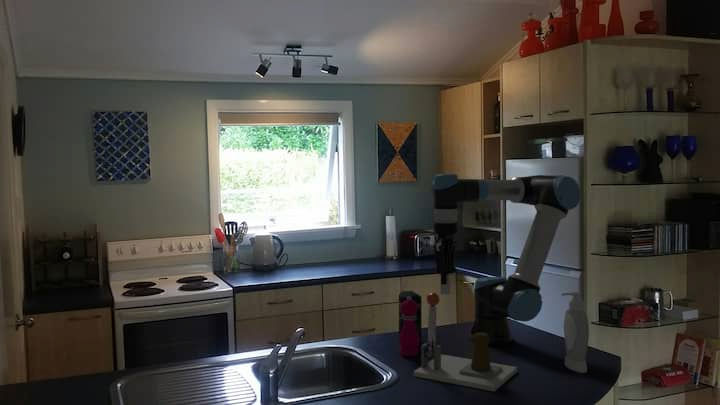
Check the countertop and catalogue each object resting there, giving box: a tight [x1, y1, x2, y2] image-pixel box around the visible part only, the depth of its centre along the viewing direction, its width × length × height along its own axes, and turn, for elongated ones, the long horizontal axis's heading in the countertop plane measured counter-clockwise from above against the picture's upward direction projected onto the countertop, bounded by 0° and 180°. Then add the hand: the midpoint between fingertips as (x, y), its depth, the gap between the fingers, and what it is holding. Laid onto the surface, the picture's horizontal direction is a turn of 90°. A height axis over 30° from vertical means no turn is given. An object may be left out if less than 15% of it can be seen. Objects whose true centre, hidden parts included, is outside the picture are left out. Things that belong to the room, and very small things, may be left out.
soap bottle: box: [561, 291, 590, 374], centre depth 205 cm, size 13×8×24 cm, turn 13°
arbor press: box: [413, 342, 518, 392], centre depth 201 cm, size 20×26×8 cm
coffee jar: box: [398, 290, 423, 345], centre depth 236 cm, size 10×8×19 cm
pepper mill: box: [398, 296, 421, 357], centre depth 223 cm, size 7×7×20 cm
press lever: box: [425, 292, 440, 360], centre depth 203 cm, size 4×4×20 cm
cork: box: [471, 333, 491, 372], centre depth 199 cm, size 6×6×11 cm
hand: (445, 293), depth 211 cm, fingers closed
